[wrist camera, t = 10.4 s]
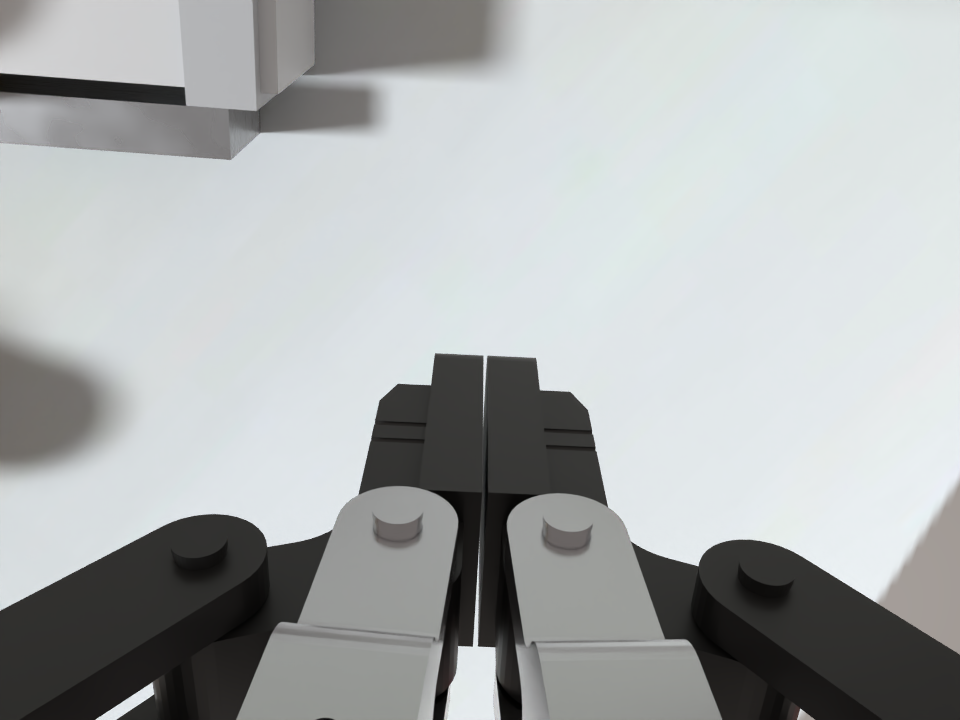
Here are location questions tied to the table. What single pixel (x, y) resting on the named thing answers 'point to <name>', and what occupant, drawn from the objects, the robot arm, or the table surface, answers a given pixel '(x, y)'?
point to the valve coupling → (118, 118)
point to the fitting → (165, 44)
